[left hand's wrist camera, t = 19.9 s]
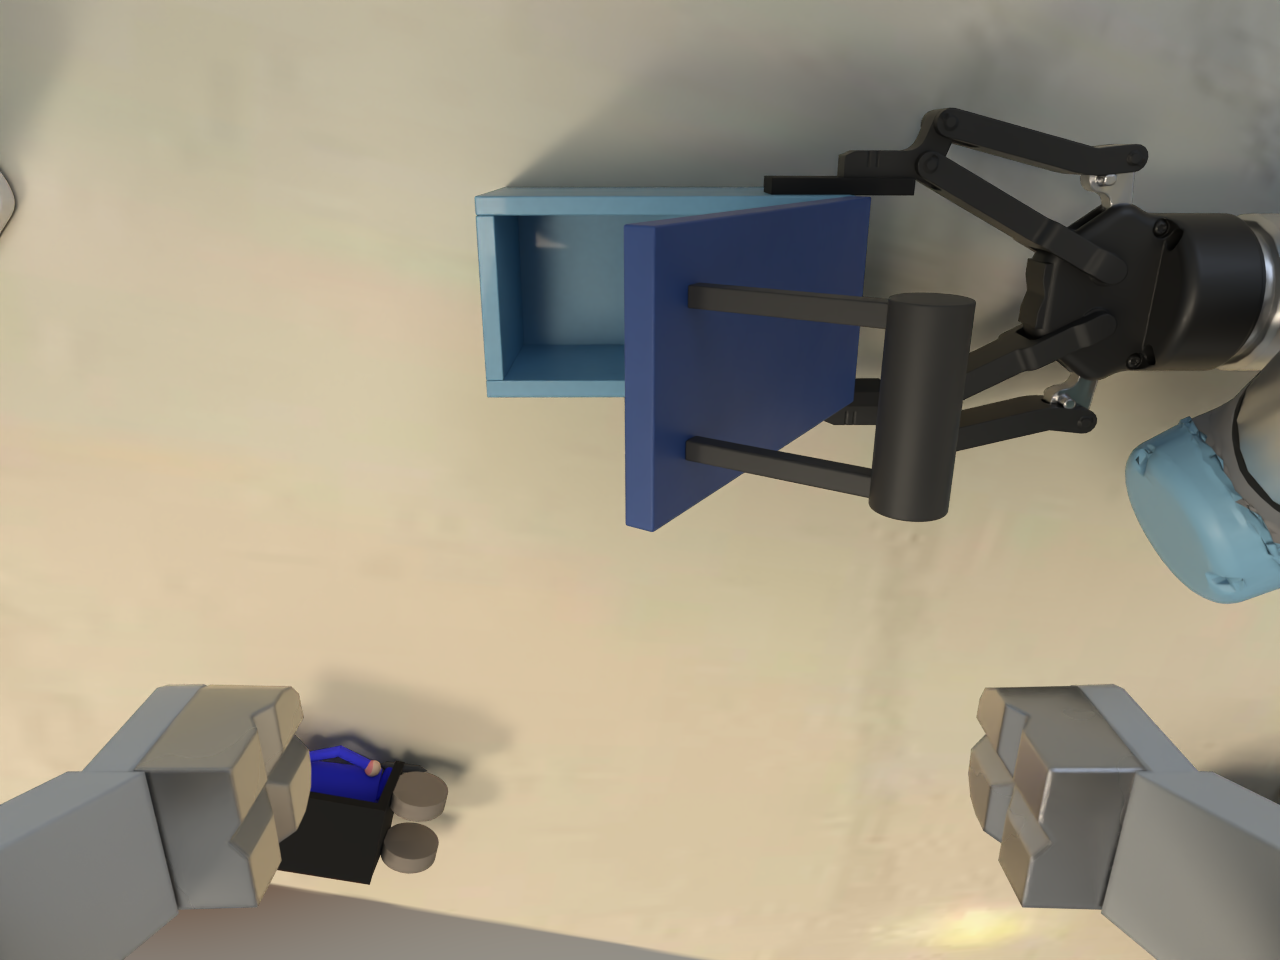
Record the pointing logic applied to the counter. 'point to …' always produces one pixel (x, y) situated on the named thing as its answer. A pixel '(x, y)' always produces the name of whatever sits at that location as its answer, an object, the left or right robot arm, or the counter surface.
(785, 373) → the lid
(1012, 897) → the counter surface
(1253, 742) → the counter surface
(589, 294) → the chest
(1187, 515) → the right robot arm
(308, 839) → the figurine character
